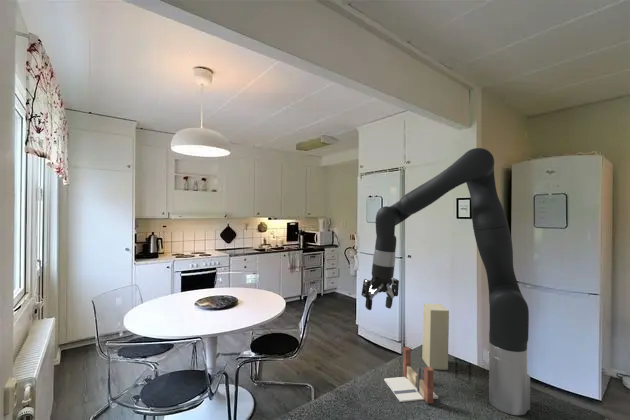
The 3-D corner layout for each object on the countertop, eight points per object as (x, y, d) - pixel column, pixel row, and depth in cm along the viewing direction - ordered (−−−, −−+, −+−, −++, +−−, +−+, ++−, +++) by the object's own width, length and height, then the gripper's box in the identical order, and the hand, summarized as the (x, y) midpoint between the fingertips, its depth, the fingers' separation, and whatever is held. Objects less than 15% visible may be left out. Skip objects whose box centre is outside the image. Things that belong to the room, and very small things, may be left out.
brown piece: (420, 390, 93) (420, 358, 93) (433, 404, 86) (433, 370, 86) (415, 391, 93) (415, 359, 93) (427, 405, 86) (427, 370, 86)
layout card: (417, 376, 101) (417, 375, 101) (438, 398, 89) (438, 396, 89) (384, 379, 99) (384, 378, 99) (400, 402, 87) (400, 400, 87)
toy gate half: (419, 386, 94) (419, 357, 94) (414, 387, 94) (414, 358, 94) (407, 373, 101) (408, 346, 102) (402, 374, 101) (403, 347, 101)
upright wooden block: (450, 370, 106) (451, 310, 106) (429, 369, 106) (430, 309, 106) (441, 359, 114) (442, 303, 114) (422, 358, 114) (422, 303, 114)
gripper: (373, 265, 99) (368, 314, 99) (406, 265, 105) (401, 311, 106) (360, 260, 106) (355, 306, 106) (392, 260, 112) (387, 303, 112)
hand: (378, 308), depth 106 cm, fingers open, 8 cm apart
